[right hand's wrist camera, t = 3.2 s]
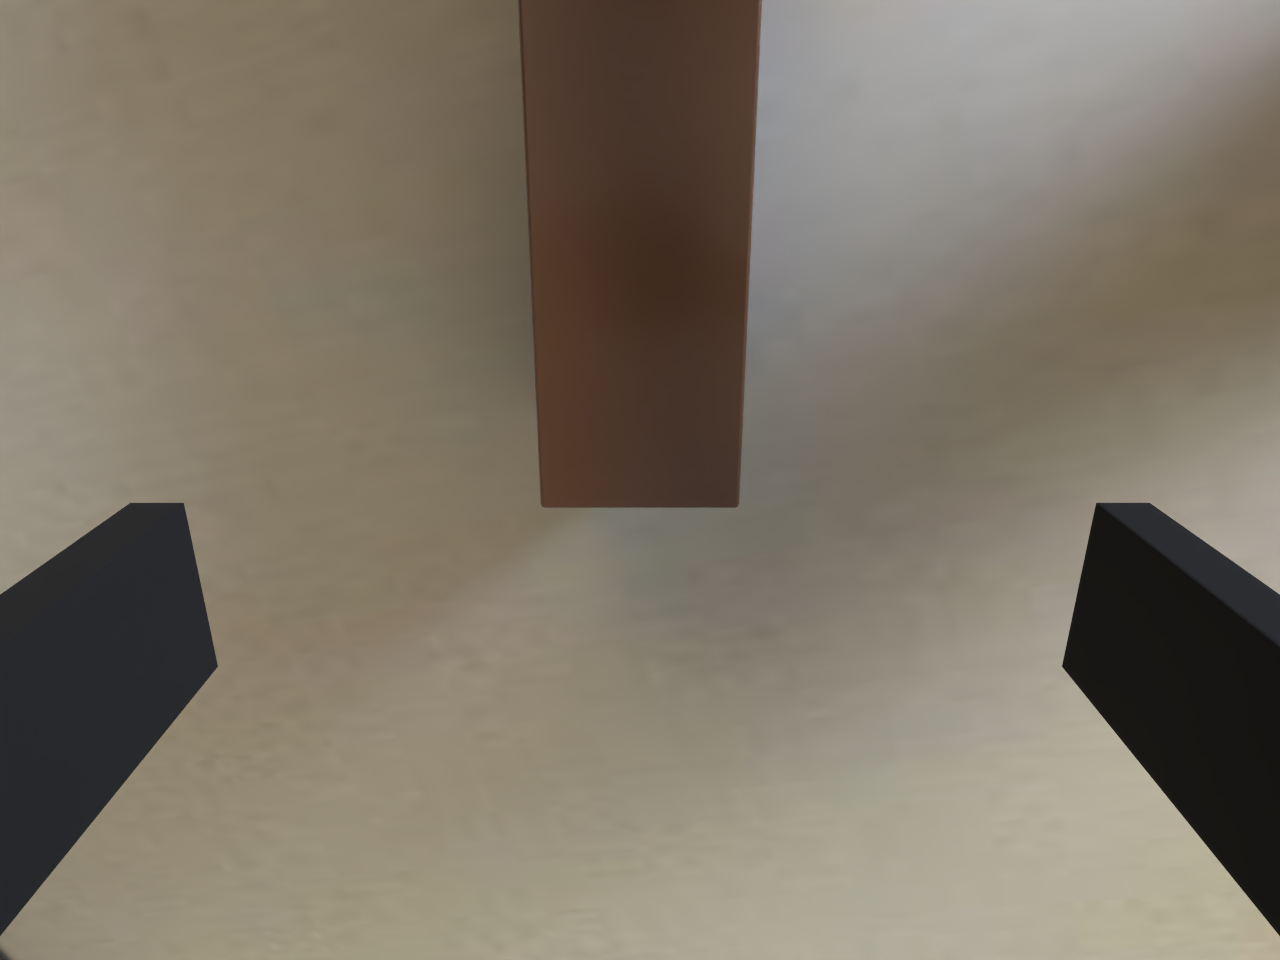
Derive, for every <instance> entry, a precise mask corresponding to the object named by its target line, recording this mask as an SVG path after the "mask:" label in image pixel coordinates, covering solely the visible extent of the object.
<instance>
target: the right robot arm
mask: <svg viewBox="0 0 1280 960" xmlns="http://www.w3.org/2000/svg"><path fill="white" fill-rule="evenodd" d="M217 667H218V665H217V660H216V655H215V651H214V646H213V641H212V636H211V631H210V627H209V622H208V617H207V612H206V607H205V603H204V598H203V593H202V588H201V583H200V579H199V574H198V569H197V564H196V560H195V555H194V550H193V545H192V540H191V536H190V531H189V526H188V521H187V516H186V512H185V507H184V503H130V504H128V505H127V506H125V507H124V508H123V509H121V510H120V511H118V512H117V513H116V514H114V515H113V516H111V517H110V518H108V519H107V520H106V521H104V522H103V523H101V524H100V525H99V526H97V527H96V528H94V529H93V530H91V531H90V532H89V533H87V534H86V535H84V536H83V537H81V538H80V539H79V540H77V541H76V542H74V543H73V544H72V545H70V546H69V547H67V548H66V549H64V550H63V551H62V552H60V553H59V554H57V555H56V556H55V557H53V558H52V559H50V560H49V561H47V562H46V563H45V564H43V565H42V566H40V567H39V568H37V569H36V570H35V571H33V572H32V573H30V574H29V575H28V576H26V577H25V578H23V579H22V580H20V581H19V582H18V583H16V584H15V585H13V586H12V587H11V588H9V589H8V590H6V591H5V592H3V593H2V594H1V595H0V935H1V934H2V933H3V932H4V931H5V929H6V928H7V927H8V926H9V924H10V923H11V922H12V921H13V919H14V918H15V917H16V916H17V914H18V913H19V912H20V911H21V910H22V908H23V907H24V906H25V905H26V903H27V902H28V901H29V900H30V898H31V897H32V896H33V895H34V893H35V892H36V891H37V890H38V888H39V887H40V886H41V885H42V884H43V882H44V881H45V880H46V879H47V877H48V876H49V875H50V874H51V872H52V871H53V870H54V869H55V867H56V866H57V865H58V864H59V862H60V861H61V860H62V859H63V858H64V856H65V855H66V854H67V853H68V851H69V850H70V849H71V848H72V846H73V845H74V844H75V843H76V841H77V840H78V839H79V838H80V836H81V835H82V834H83V833H84V832H85V830H86V829H87V828H88V827H89V825H90V824H91V823H92V822H93V820H94V819H95V818H96V817H97V815H98V814H99V813H100V812H101V810H102V809H103V808H104V807H105V806H106V804H107V803H108V802H109V801H110V799H111V798H112V797H113V796H114V794H115V793H116V792H117V791H118V789H119V788H120V787H121V786H122V785H123V783H124V782H125V781H126V780H127V778H128V777H129V776H130V775H131V773H132V772H133V771H134V770H135V768H136V767H137V766H138V765H139V763H140V762H141V761H142V760H143V759H144V757H145V756H146V755H147V754H148V752H149V751H150V750H151V749H152V747H153V746H154V745H155V744H156V742H157V741H158V740H159V739H160V737H161V736H162V735H163V734H164V733H165V731H166V730H167V729H168V728H169V726H170V725H171V724H172V723H173V721H174V720H175V719H176V718H177V716H178V715H179V714H180V713H181V711H182V710H183V709H184V708H185V707H186V705H187V704H188V703H189V702H190V700H191V699H192V698H193V697H194V695H195V694H196V693H197V692H198V690H199V689H200V688H201V687H202V686H203V684H204V683H205V682H206V681H207V679H208V678H209V677H210V676H211V674H212V673H213V672H214V671H215V669H216V668H217ZM1062 667H1063V668H1064V669H1065V671H1066V672H1067V673H1068V674H1069V676H1070V677H1071V678H1072V679H1073V681H1074V682H1075V683H1076V684H1077V686H1078V687H1079V688H1080V689H1081V690H1082V692H1083V693H1084V694H1085V695H1086V697H1087V698H1088V699H1089V700H1090V702H1091V703H1092V704H1093V705H1094V707H1095V708H1096V709H1097V710H1098V711H1099V713H1100V714H1101V715H1102V716H1103V718H1104V719H1105V720H1106V721H1107V723H1108V724H1109V725H1110V726H1111V728H1112V729H1113V730H1114V731H1115V733H1116V734H1117V735H1118V736H1119V737H1120V739H1121V740H1122V741H1123V742H1124V744H1125V745H1126V746H1127V747H1128V749H1129V750H1130V751H1131V752H1132V754H1133V755H1134V756H1135V757H1136V759H1137V760H1138V761H1139V762H1140V763H1141V765H1142V766H1143V767H1144V768H1145V770H1146V771H1147V772H1148V773H1149V775H1150V776H1151V777H1152V778H1153V780H1154V781H1155V782H1156V783H1157V785H1158V786H1159V787H1160V788H1161V789H1162V791H1163V792H1164V793H1165V794H1166V796H1167V797H1168V798H1169V799H1170V801H1171V802H1172V803H1173V804H1174V806H1175V807H1176V808H1177V809H1178V810H1179V812H1180V813H1181V814H1182V815H1183V817H1184V818H1185V819H1186V820H1187V822H1188V823H1189V824H1190V825H1191V827H1192V828H1193V829H1194V830H1195V832H1196V833H1197V834H1198V835H1199V836H1200V838H1201V839H1202V840H1203V841H1204V843H1205V844H1206V845H1207V846H1208V848H1209V849H1210V850H1211V851H1212V853H1213V854H1214V855H1215V856H1216V858H1217V859H1218V860H1219V861H1220V862H1221V864H1222V865H1223V866H1224V867H1225V869H1226V870H1227V871H1228V872H1229V874H1230V875H1231V876H1232V877H1233V879H1234V880H1235V881H1236V882H1237V884H1238V885H1239V886H1240V887H1241V888H1242V890H1243V891H1244V892H1245V893H1246V895H1247V896H1248V897H1249V898H1250V900H1251V901H1252V902H1253V903H1254V905H1255V906H1256V907H1257V908H1258V910H1259V911H1260V912H1261V913H1262V914H1263V916H1264V917H1265V918H1266V919H1267V921H1268V922H1269V923H1270V924H1271V926H1272V927H1273V928H1274V929H1275V931H1276V932H1277V933H1278V934H1279V935H1280V595H1279V594H1278V593H1277V592H1275V591H1274V590H1272V589H1271V588H1269V587H1268V586H1267V585H1265V584H1264V583H1262V582H1261V581H1260V580H1258V579H1257V578H1255V577H1254V576H1252V575H1251V574H1250V573H1248V572H1247V571H1245V570H1244V569H1243V568H1241V567H1240V566H1238V565H1237V564H1235V563H1234V562H1233V561H1231V560H1230V559H1228V558H1227V557H1225V556H1224V555H1223V554H1221V553H1220V552H1218V551H1217V550H1216V549H1214V548H1213V547H1211V546H1210V545H1208V544H1207V543H1206V542H1204V541H1203V540H1201V539H1200V538H1199V537H1197V536H1196V535H1194V534H1193V533H1191V532H1190V531H1189V530H1187V529H1186V528H1184V527H1183V526H1181V525H1180V524H1179V523H1177V522H1176V521H1174V520H1173V519H1172V518H1170V517H1169V516H1167V515H1166V514H1164V513H1163V512H1162V511H1160V510H1159V509H1157V508H1156V507H1155V506H1153V505H1152V504H1150V503H1096V507H1095V512H1094V516H1093V521H1092V526H1091V531H1090V536H1089V540H1088V545H1087V550H1086V555H1085V560H1084V564H1083V569H1082V574H1081V579H1080V583H1079V588H1078V593H1077V598H1076V603H1075V607H1074V612H1073V617H1072V622H1071V627H1070V631H1069V636H1068V641H1067V646H1066V651H1065V655H1064V660H1063V665H1062ZM0 960H4V959H3V958H2V957H1V956H0Z"/></svg>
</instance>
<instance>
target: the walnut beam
mask: <svg viewBox="0 0 1280 960" xmlns="http://www.w3.org/2000/svg"><path fill="white" fill-rule="evenodd" d="M518 8H519V30H520V52H521V74H522V97H523V119H524V141H525V163H526V185H527V207H528V229H529V251H530V273H531V295H532V317H533V339H534V361H535V383H536V405H537V428H538V450H539V472H540V494H541V505H542V507H738V505H739V493H740V471H741V449H742V427H743V405H744V383H745V361H746V339H747V317H748V295H749V273H750V251H751V229H752V206H753V184H754V162H755V140H756V118H757V96H758V74H759V52H760V30H761V8H762V0H518Z"/></svg>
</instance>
